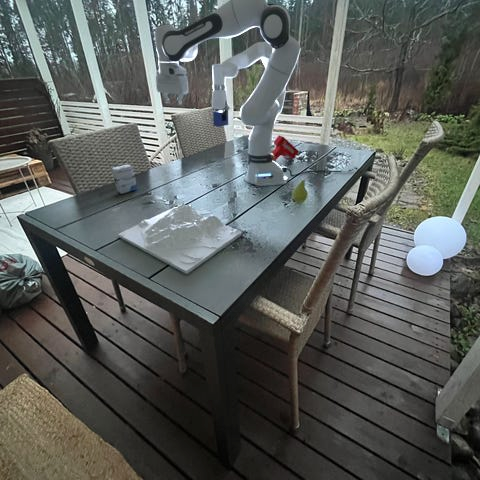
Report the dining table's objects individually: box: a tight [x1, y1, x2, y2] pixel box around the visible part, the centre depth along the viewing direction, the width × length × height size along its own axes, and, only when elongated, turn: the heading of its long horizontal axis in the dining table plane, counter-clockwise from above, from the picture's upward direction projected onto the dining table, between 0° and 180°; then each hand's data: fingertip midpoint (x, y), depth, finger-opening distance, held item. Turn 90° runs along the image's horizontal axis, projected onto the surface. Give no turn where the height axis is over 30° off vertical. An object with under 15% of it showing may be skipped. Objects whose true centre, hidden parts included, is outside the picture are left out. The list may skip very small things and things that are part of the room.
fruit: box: [291, 174, 311, 204], centre depth 118 cm, size 7×8×12 cm
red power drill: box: [270, 134, 300, 163], centre depth 174 cm, size 18×4×15 cm
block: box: [212, 109, 230, 128], centre depth 173 cm, size 5×8×8 cm, turn 139°
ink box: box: [110, 164, 138, 195], centre depth 131 cm, size 8×5×12 cm, turn 135°
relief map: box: [117, 202, 243, 275], centre depth 96 cm, size 27×35×5 cm
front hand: (173, 103), depth 130 cm, fingers open, 8 cm apart
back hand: (220, 120), depth 174 cm, fingers closed on block, 5 cm apart
